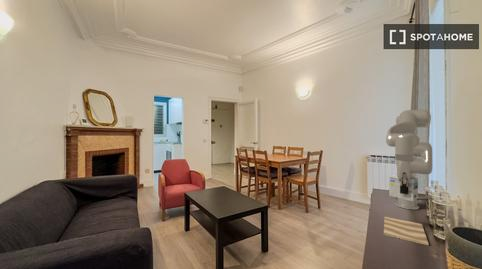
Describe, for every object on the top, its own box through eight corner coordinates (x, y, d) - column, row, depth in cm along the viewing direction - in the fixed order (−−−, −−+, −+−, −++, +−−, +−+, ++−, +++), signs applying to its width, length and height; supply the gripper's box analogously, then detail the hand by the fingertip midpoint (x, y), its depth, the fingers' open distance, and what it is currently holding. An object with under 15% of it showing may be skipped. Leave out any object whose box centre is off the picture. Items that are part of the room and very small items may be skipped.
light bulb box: (418, 199, 107) (418, 178, 106) (413, 201, 103) (414, 180, 102) (393, 193, 115) (394, 174, 115) (388, 196, 112) (389, 175, 111)
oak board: (384, 218, 118) (384, 216, 118) (421, 225, 109) (421, 224, 109) (383, 234, 100) (383, 232, 100) (428, 245, 91) (428, 243, 91)
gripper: (394, 155, 118) (394, 186, 118) (395, 159, 103) (394, 194, 104) (411, 156, 113) (411, 188, 114) (415, 161, 99) (414, 197, 100)
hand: (403, 191), depth 109 cm, fingers closed on light bulb box, 8 cm apart
